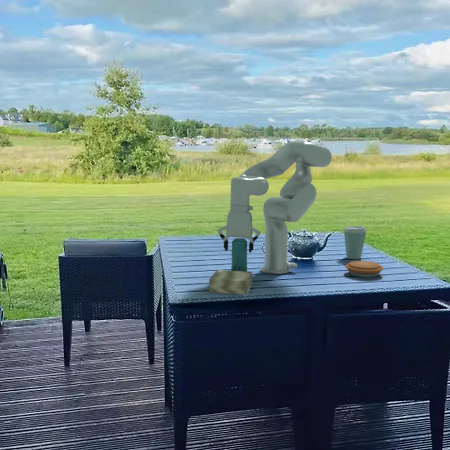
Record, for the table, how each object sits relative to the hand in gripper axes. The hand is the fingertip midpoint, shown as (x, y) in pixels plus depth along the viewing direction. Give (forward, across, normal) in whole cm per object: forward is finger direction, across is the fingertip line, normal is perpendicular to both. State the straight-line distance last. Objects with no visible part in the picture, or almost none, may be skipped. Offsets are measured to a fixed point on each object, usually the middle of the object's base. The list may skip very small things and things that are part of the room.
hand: (238, 251), depth 222 cm
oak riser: (+12, 0, +12) cm, 17 cm away
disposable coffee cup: (+10, -48, -51) cm, 70 cm away
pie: (+11, -51, -20) cm, 55 cm away
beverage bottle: (+12, -1, -1) cm, 12 cm away
